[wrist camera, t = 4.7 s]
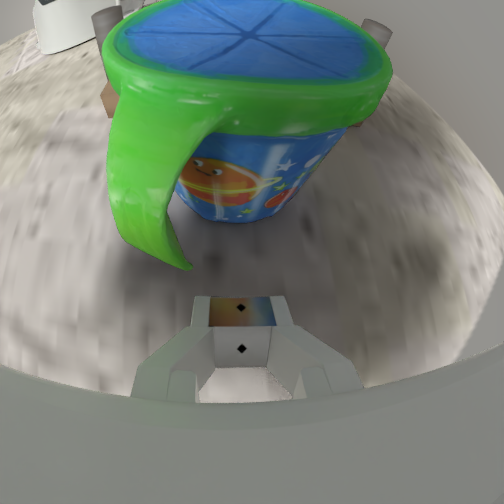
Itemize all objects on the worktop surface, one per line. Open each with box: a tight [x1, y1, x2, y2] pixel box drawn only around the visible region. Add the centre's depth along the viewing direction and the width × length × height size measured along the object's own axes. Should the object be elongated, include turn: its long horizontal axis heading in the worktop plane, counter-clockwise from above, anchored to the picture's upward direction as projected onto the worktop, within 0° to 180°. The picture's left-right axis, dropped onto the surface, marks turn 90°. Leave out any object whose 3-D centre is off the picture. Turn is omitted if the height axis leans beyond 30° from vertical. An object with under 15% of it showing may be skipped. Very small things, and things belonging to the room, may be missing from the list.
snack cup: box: [102, 0, 393, 271], centre depth 12 cm, size 16×10×10 cm
